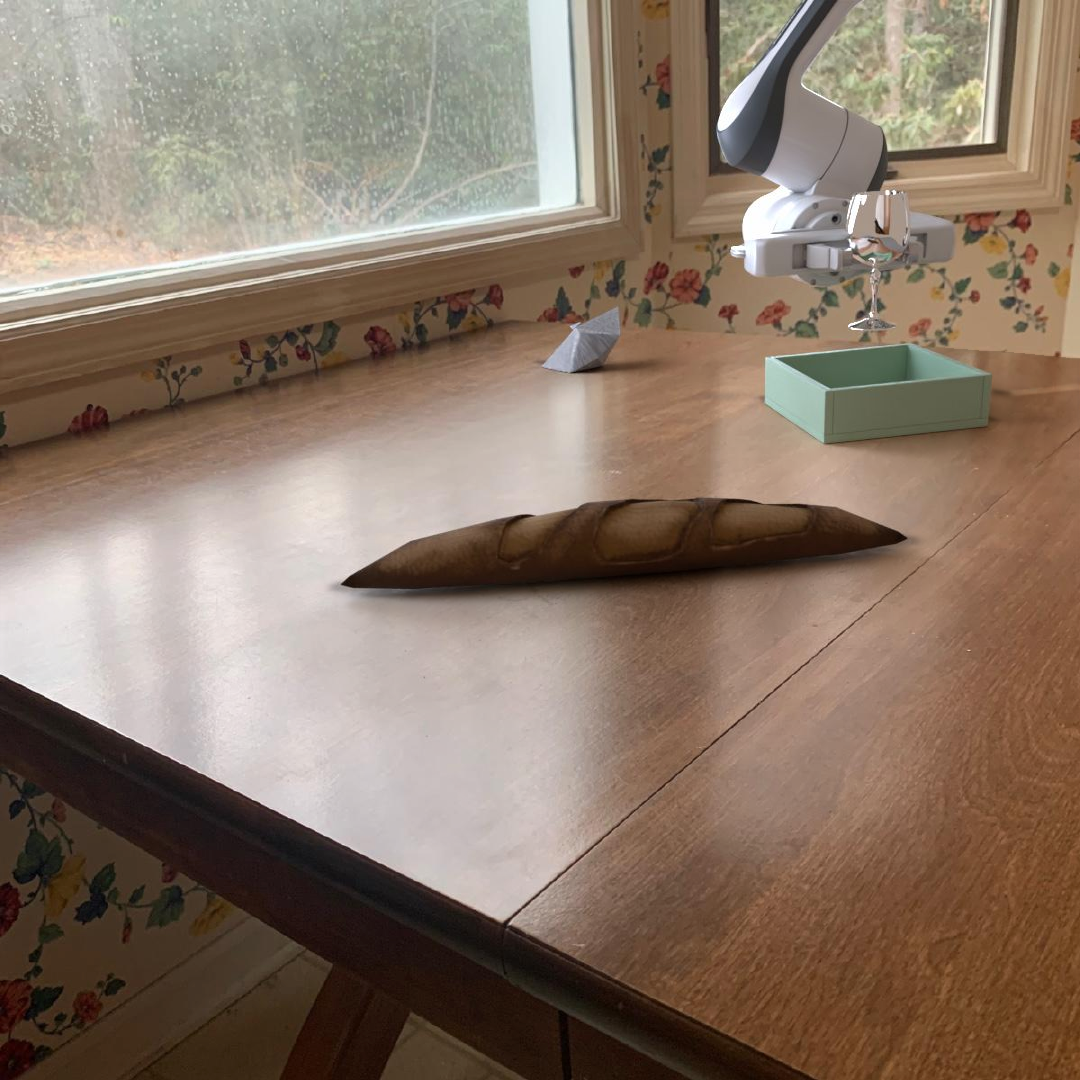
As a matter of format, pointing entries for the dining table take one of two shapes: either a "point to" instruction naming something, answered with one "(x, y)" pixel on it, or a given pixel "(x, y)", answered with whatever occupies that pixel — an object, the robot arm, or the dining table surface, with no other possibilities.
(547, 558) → the bread
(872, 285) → the wineglass
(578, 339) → the paper boat
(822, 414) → the bin
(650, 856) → the dining table surface
